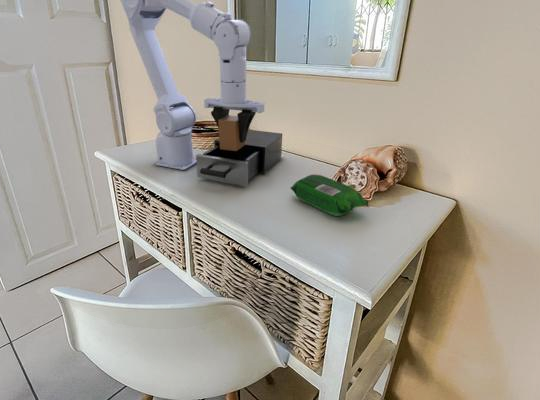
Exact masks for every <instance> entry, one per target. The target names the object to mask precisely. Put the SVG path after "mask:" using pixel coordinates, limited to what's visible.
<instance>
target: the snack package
mask: <svg viewBox="0 0 540 400" xmlns="http://www.w3.org/2000/svg"><path fill="white" fill-rule="evenodd" d="M290 191H292V192H293V193H294V194H295V196H296V198H298V200H300V201H301V202H303V203H306V204H308V205H310V206H312V207H314V208H316V209H318V210H320V211H323V212H325V213H327V214H329V215H331V216H334V217H340V216H342V215H344V214H349V213H351V212H352V211H353V210H354V209H357V208H362V207H365V206H366V207H368V208H369V206H370V205H369V200H367V199H365V198H364V197H363V196H362V194H361V193H360V192H359V191H358V190H356V189H355V188H354V187H352V186H349V185H347V184H344V183H342V182H339V181H336V180H335V179H332V178H329V177H327V176H324V175H322V174H316V173H314V174H309V175H307V176H305V177H302V178H301V179H298V180H297V181H296V182H295V183H293V185H292V186H291V187H290Z"/></svg>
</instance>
